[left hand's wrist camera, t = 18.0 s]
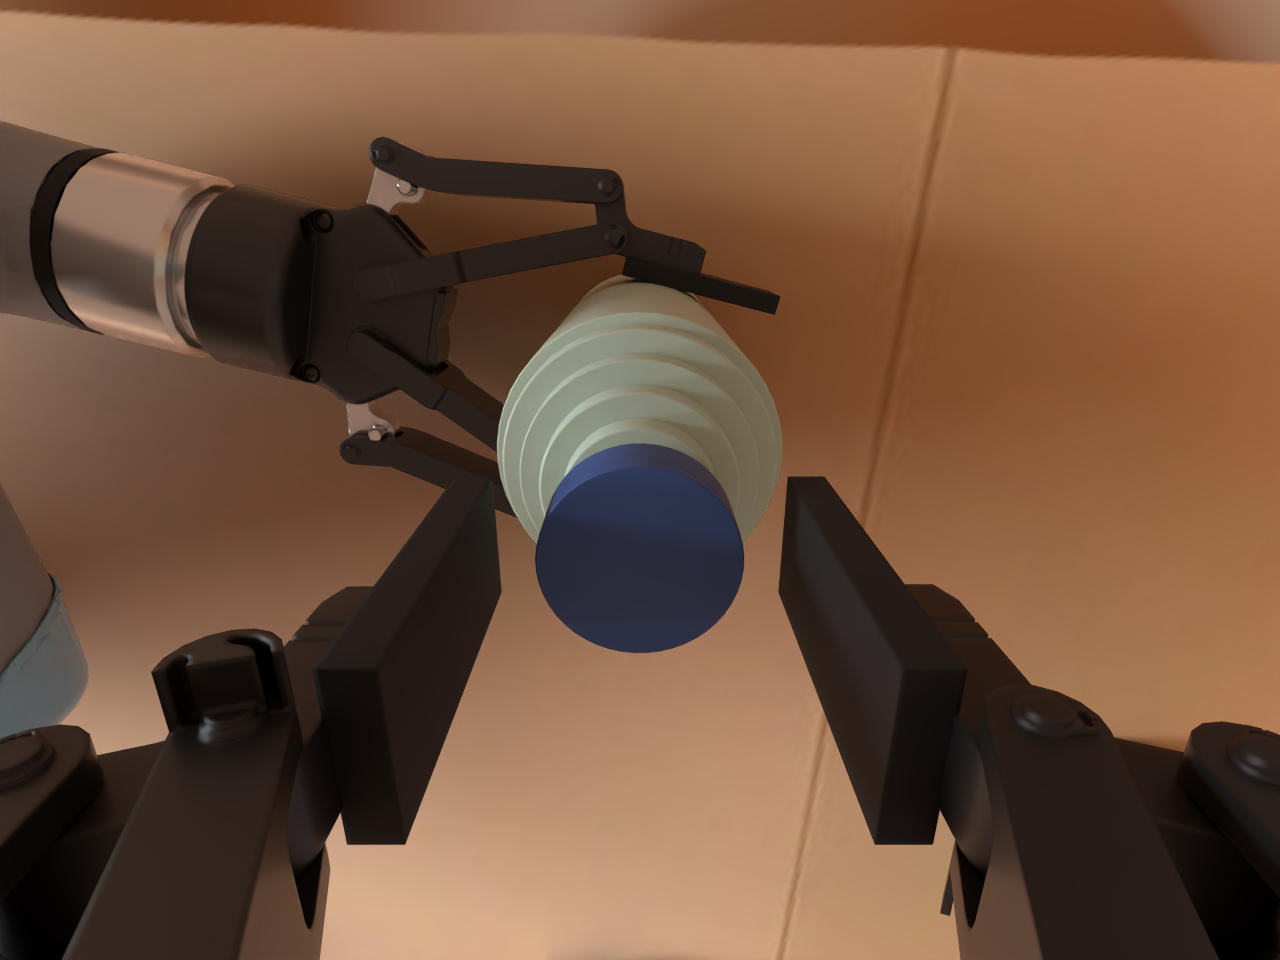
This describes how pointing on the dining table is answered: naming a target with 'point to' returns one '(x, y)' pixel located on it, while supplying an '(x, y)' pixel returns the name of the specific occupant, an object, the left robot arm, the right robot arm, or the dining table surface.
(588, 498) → the cap
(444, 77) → the dining table surface
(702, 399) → the bottle
